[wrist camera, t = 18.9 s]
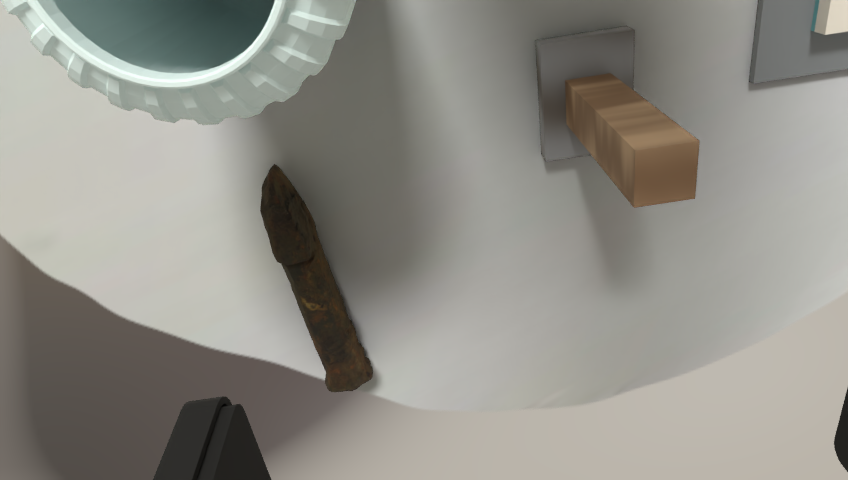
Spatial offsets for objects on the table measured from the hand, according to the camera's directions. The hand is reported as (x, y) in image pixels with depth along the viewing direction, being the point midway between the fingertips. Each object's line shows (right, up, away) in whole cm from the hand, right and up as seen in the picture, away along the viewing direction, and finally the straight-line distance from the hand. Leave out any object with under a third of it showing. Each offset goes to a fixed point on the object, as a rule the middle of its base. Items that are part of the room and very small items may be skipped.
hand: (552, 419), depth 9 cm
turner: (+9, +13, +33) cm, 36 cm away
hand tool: (-11, 0, +39) cm, 40 cm away
